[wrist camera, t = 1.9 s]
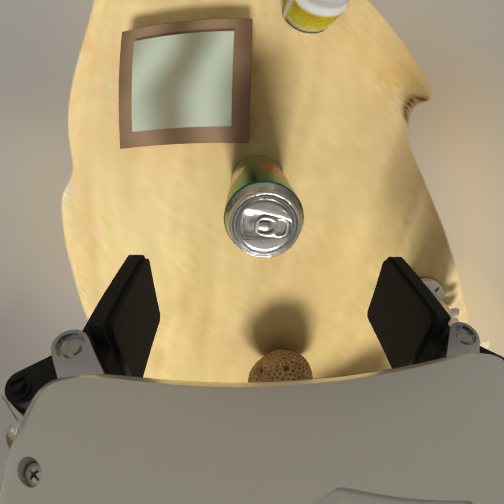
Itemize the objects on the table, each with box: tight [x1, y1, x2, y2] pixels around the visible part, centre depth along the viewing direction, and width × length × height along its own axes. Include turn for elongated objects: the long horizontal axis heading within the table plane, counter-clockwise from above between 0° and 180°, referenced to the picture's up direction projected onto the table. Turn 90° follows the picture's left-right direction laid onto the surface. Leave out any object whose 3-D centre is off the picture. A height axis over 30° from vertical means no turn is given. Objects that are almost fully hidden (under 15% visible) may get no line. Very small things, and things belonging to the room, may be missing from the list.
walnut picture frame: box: [119, 18, 252, 149], centre depth 21 cm, size 12×12×3 cm
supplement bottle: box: [282, 0, 349, 34], centre depth 15 cm, size 5×5×8 cm
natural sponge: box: [248, 350, 313, 383], centre depth 34 cm, size 9×9×10 cm
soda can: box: [224, 156, 304, 258], centre depth 22 cm, size 5×5×12 cm
